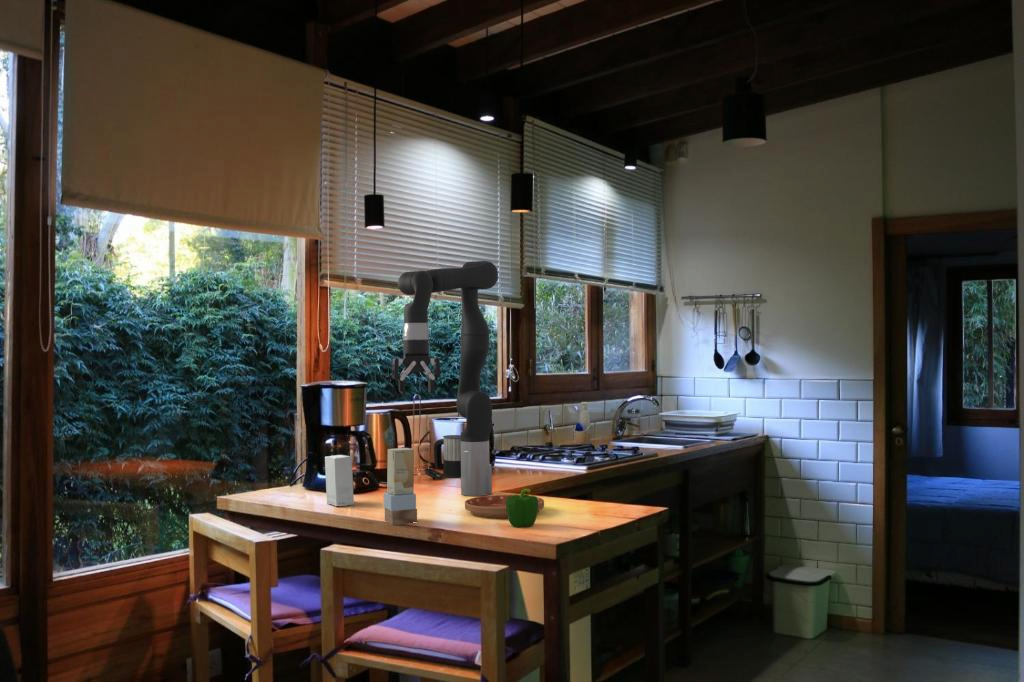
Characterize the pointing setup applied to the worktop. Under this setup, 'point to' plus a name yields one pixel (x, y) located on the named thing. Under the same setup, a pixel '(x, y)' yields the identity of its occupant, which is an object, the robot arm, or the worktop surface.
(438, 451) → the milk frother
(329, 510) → the worktop surface
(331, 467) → the skincare box
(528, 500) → the bell pepper
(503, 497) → the saucer
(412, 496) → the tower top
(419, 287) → the robot arm
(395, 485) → the skincare box
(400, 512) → the tower base
